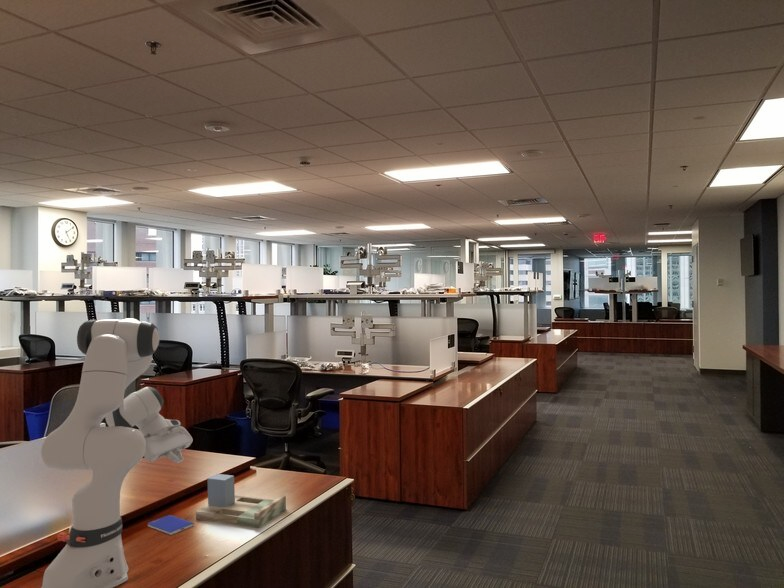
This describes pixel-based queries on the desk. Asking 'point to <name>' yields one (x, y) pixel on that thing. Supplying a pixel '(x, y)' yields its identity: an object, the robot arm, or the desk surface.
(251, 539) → the desk surface
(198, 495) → the desk surface
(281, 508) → the box
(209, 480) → the slate block
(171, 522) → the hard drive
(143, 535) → the desk surface
